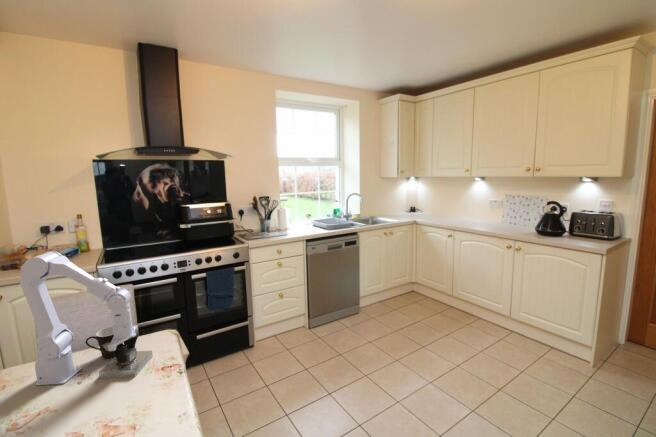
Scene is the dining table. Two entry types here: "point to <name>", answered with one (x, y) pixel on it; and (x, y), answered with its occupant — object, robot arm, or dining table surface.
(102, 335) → the coffee mug
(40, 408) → the dining table surface
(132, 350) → the plug
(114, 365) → the socket
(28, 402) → the dining table surface
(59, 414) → the dining table surface
